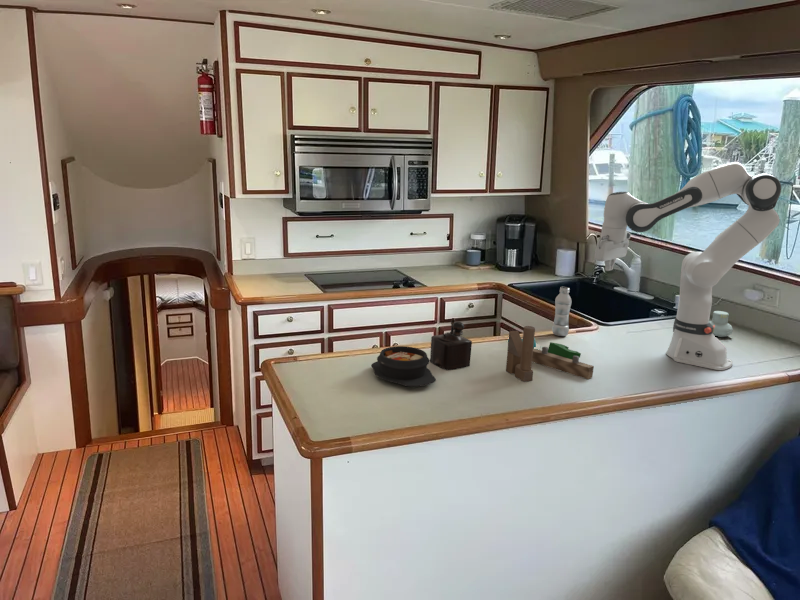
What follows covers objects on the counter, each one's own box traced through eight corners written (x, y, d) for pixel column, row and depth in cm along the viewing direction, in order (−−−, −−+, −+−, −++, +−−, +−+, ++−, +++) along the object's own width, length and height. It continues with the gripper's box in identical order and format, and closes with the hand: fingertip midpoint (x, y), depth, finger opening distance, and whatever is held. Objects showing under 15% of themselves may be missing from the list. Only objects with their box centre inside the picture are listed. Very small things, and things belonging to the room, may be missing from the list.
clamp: (571, 376, 225) (585, 357, 220) (558, 374, 222) (572, 355, 218) (556, 353, 234) (569, 335, 229) (543, 351, 231) (556, 332, 227)
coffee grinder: (427, 361, 220) (430, 312, 216) (453, 357, 226) (456, 308, 221) (453, 376, 207) (456, 324, 203) (480, 371, 213) (484, 320, 209)
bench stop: (592, 377, 212) (594, 360, 210) (588, 379, 210) (590, 362, 208) (531, 358, 228) (532, 342, 227) (526, 360, 226) (528, 344, 224)
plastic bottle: (559, 338, 252) (564, 290, 248) (548, 333, 258) (553, 286, 253) (571, 337, 255) (577, 289, 250) (560, 332, 261) (565, 285, 256)
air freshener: (700, 331, 272) (704, 309, 269) (718, 331, 272) (722, 309, 270) (715, 339, 261) (719, 316, 259) (734, 339, 262) (738, 316, 259)
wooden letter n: (514, 369, 216) (518, 319, 211) (532, 381, 206) (538, 328, 202) (505, 371, 214) (509, 320, 210) (523, 382, 205) (528, 329, 200)
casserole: (357, 370, 209) (358, 346, 207) (403, 361, 220) (404, 338, 218) (401, 396, 190) (402, 370, 187) (449, 385, 200) (450, 360, 198)
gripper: (608, 238, 230) (603, 275, 234) (632, 233, 245) (628, 268, 248) (592, 235, 234) (588, 272, 238) (617, 231, 249) (613, 266, 252)
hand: (608, 270), depth 243 cm, fingers closed
